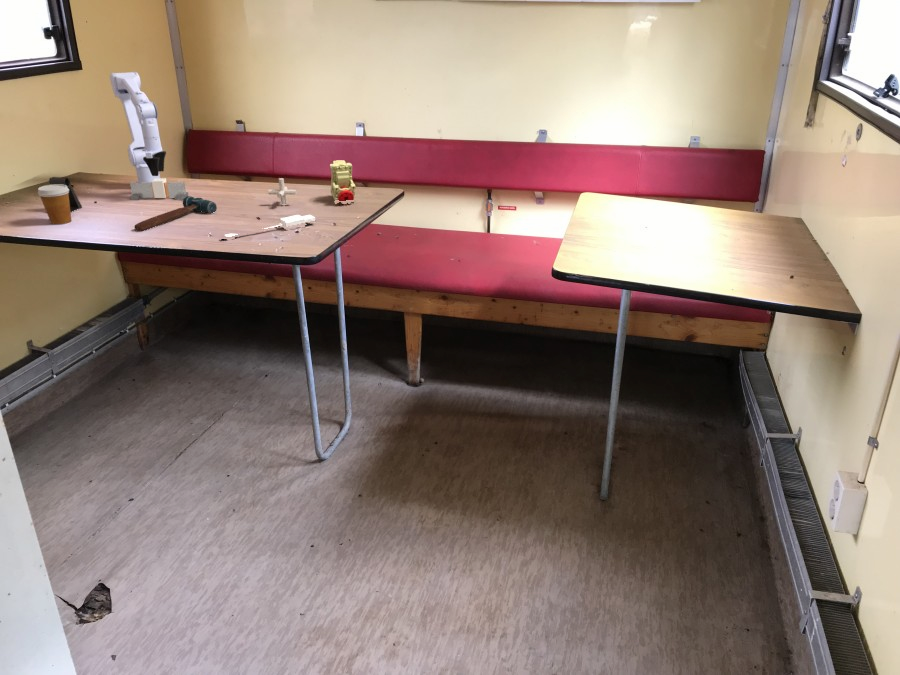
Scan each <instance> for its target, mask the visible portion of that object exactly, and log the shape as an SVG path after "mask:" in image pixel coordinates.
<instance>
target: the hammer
mask: <svg viewBox="0 0 900 675" xmlns="http://www.w3.org/2000/svg"><path fill="white" fill-rule="evenodd" d="M182 205H183V206H182V207H181V208H176V209H172V210H170V211H167V212H165V213H161V214H159V215H156V216H152V217H150V218H147V219H145V220H142V221H140V222H137V223H136V224H135V225H134V230H135V231H136V230H137V232H144V230H145V231H148V230H149V229H150V228H151V229H153V227H154V228H156V227H159V226H161V225H163V223H164V224H166V223H168V221H169V222H171V221H174V220H175V219H178V218H179V217H182V216H184V215H186V214H188V213H189V212H194V213H203V214H207V213H213V212H215V211H216V212H217V209H218V208H217V207H218V206H217V204H216V203H215V202H214V201H211V200H208V199H204V198H202V197H194V196H192V195H188V196H187V197H185V198H184V199H183V200H182ZM201 211H202V212H201ZM216 212H215V213H216ZM213 214H214V213H213ZM158 225H159V226H158ZM155 226H156V227H155ZM147 229H148V230H147ZM151 229H150V230H151Z"/></svg>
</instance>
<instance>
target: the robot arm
mask: <svg viewBox="0 0 900 675" xmlns="http://www.w3.org/2000/svg"><path fill="white" fill-rule="evenodd" d="M109 80H110V84H111V89H112V93H113V94H114V97H116V98H118V99H119V100H120V102H121V104H122V107H123V111H124V115H125V119H126V121H127V125H128V128H129V132H130V137H131V139H132V142H131V143H129V145H127V152H128V153H127V154H128V159H129V162H130V164H131V166H133V167H135V171H136V172H135V173H136V177H137V182H152V181H153V180H154V179H155V178H161V175H160V172H164V170H165V158H166V155H167V151H166V150H165V151H164V150H163V148H162V143H161V137H160V132H159V131H160V130H159V125H158V118H159V113H158V108H157V105H156V103H155V102H154V101H153V102H152V101H150V99H149V98H148V96H147V94H146V93H145V92H144V91H141V86H142V83H141V77H140V75H139V73H138V72H137V71H133V72H132V71H131V72H111V73H110V75H109Z"/></svg>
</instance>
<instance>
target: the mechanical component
mask: <svg viewBox="0 0 900 675" xmlns="http://www.w3.org/2000/svg"><path fill="white" fill-rule="evenodd" d="M329 167H330V171H331V172H330V173H331V176H330V178H331V179H330V180H331V181H330V183H331V184H330V185H331V186H330V194H331V195H332V197H333V201H334V200H339V201H346V200H354V198H355V191H356V188H357V187H356V184H355V183H354V181H353V165H352V163H351V162H346V161H345V160H344V159H343V160H342V159H341V160H340V159H338V160H333V161H332V163H330V164H329Z"/></svg>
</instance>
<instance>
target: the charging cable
mask: <svg viewBox="0 0 900 675" xmlns="http://www.w3.org/2000/svg"><path fill="white" fill-rule="evenodd" d="M315 220H316V217H315V216H313V215H312V214H307V215H301V214H294V215H290V216H287V217H286V216H285V217H282V218H279V223H278V224H277V225H273V226H269V227H264V229H268V228H273V229H275V228H274V227H277V228H279V227H278V226H286V227H288V226H292V225H297V224H301V223H305V222H310V221H315ZM268 230H269V229H268ZM238 234H239V233H233V232H231V233H227V234H224V235H223V237H224V236H225V237H232V236H235V235H238Z"/></svg>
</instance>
